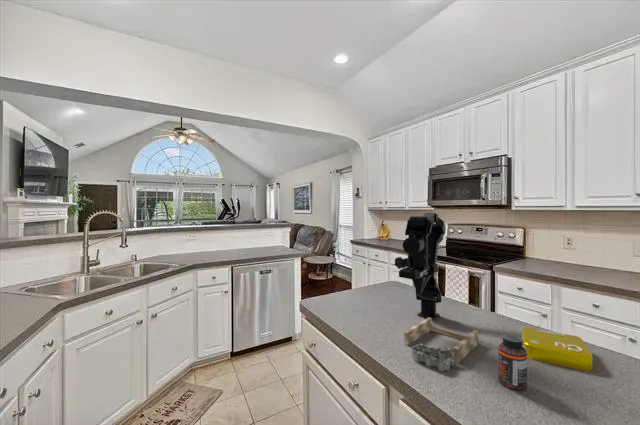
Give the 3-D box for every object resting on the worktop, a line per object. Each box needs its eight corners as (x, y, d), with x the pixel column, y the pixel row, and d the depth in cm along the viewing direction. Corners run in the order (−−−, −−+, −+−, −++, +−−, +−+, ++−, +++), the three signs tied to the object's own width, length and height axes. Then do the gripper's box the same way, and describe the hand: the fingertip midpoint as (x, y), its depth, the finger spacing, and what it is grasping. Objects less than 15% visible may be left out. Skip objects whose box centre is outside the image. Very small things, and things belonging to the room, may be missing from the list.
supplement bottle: (492, 377, 74) (492, 332, 74) (514, 376, 74) (514, 332, 74) (509, 392, 68) (509, 343, 68) (533, 390, 68) (533, 342, 68)
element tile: (580, 350, 89) (580, 334, 89) (594, 374, 76) (594, 355, 76) (521, 339, 97) (521, 324, 97) (524, 358, 84) (524, 342, 84)
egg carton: (457, 364, 81) (457, 349, 80) (446, 375, 75) (446, 359, 75) (421, 350, 88) (421, 337, 88) (408, 359, 83) (408, 345, 83)
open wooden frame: (428, 328, 104) (428, 317, 104) (478, 343, 92) (478, 330, 92) (404, 344, 92) (404, 331, 92) (458, 363, 81) (458, 348, 81)
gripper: (411, 246, 117) (411, 285, 117) (385, 251, 104) (385, 295, 104) (438, 249, 109) (438, 291, 109) (414, 254, 96) (414, 302, 96)
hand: (419, 294), depth 105 cm, fingers closed
